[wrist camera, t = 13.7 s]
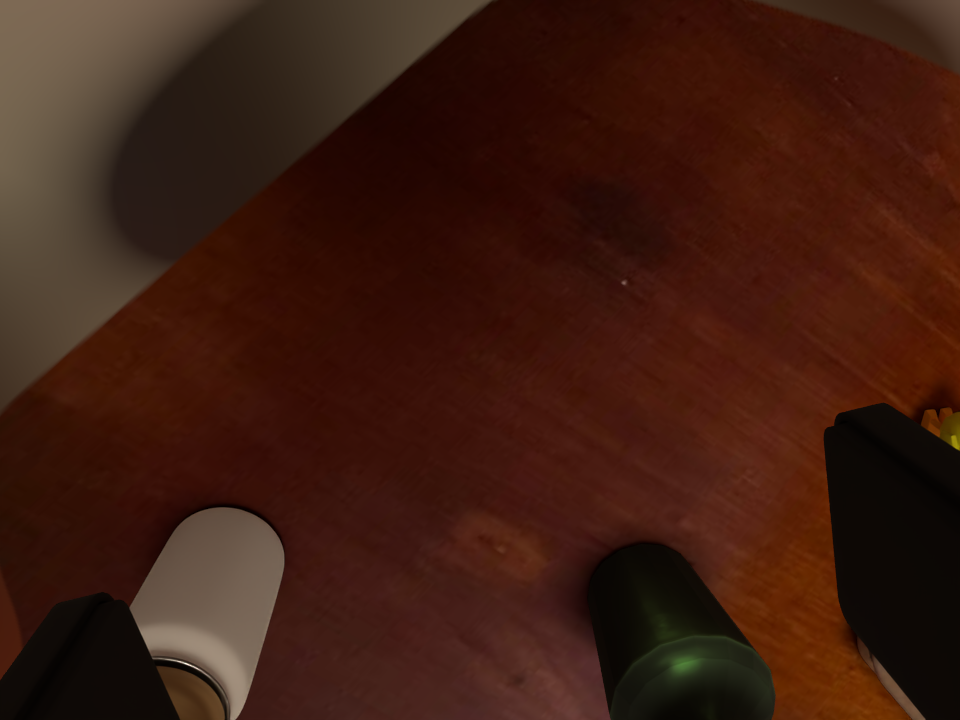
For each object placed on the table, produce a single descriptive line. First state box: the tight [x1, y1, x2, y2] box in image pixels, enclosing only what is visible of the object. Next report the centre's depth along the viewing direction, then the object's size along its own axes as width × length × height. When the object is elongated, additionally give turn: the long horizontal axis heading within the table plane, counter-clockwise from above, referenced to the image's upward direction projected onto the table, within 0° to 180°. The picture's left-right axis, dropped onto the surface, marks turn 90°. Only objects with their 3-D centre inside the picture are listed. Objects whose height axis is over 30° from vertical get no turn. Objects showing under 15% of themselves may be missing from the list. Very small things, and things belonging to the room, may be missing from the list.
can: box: [129, 507, 284, 720], centre depth 38 cm, size 6×6×12 cm
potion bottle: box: [587, 544, 775, 720], centre depth 38 cm, size 8×8×18 cm
